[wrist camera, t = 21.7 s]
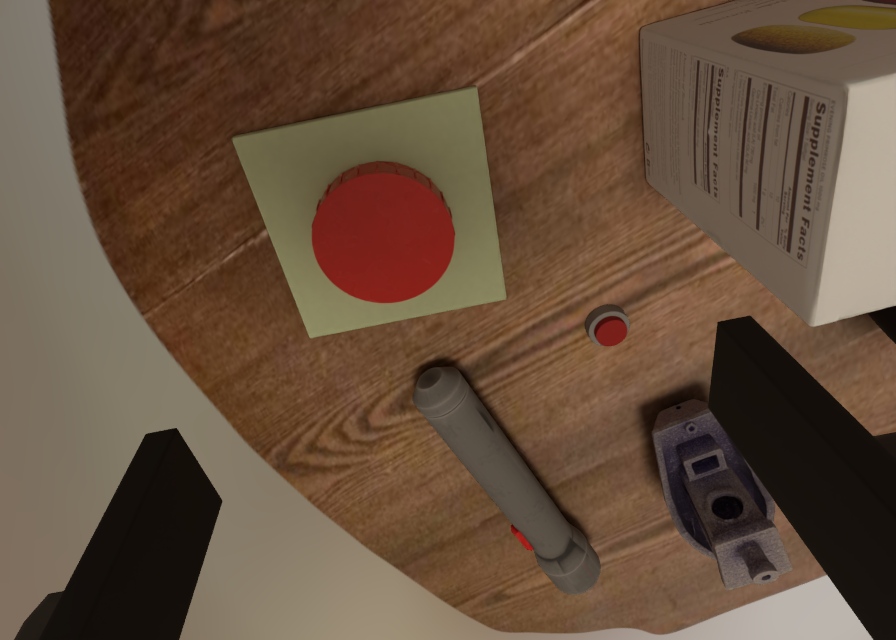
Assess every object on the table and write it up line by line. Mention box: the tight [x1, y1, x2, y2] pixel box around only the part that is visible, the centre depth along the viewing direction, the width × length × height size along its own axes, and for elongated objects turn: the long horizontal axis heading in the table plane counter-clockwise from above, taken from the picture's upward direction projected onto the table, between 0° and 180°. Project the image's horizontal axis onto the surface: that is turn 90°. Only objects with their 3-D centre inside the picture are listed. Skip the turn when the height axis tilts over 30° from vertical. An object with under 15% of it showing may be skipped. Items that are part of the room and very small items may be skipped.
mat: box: [232, 86, 507, 338], centre depth 35 cm, size 14×14×1 cm
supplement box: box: [640, 0, 896, 327], centre depth 25 cm, size 10×9×17 cm
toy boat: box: [652, 399, 793, 590], centre depth 43 cm, size 15×8×13 cm, turn 26°
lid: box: [311, 161, 455, 303], centre depth 33 cm, size 8×8×2 cm
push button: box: [585, 305, 630, 346], centre depth 40 cm, size 3×3×2 cm
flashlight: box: [413, 367, 601, 595], centre depth 46 cm, size 5×28×5 cm
